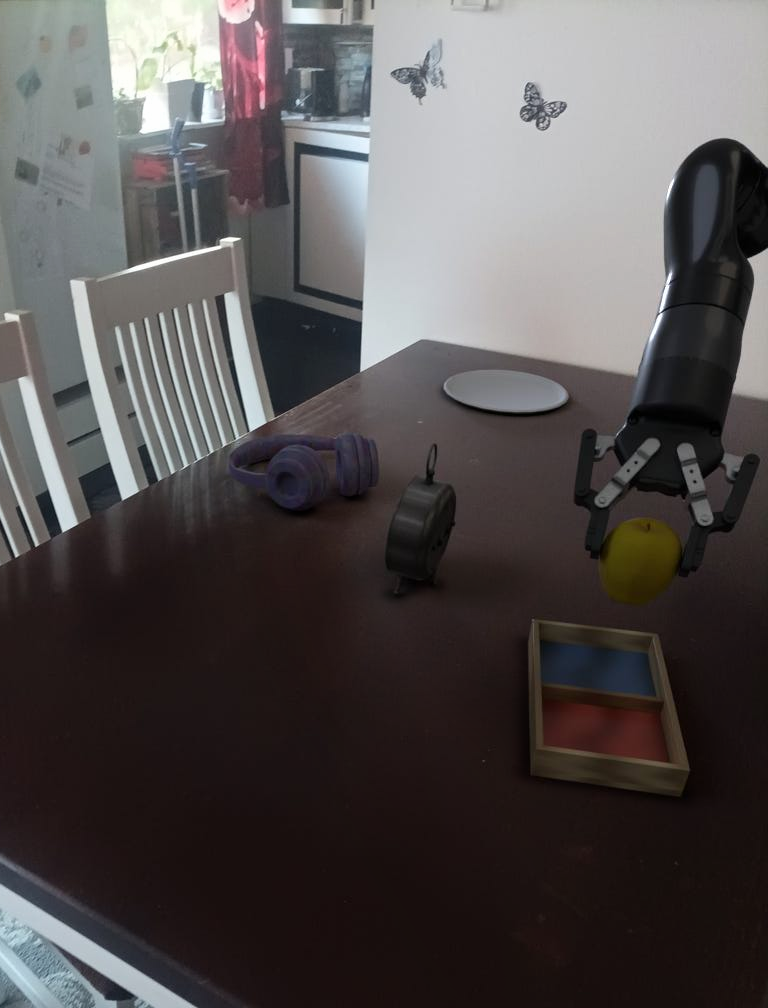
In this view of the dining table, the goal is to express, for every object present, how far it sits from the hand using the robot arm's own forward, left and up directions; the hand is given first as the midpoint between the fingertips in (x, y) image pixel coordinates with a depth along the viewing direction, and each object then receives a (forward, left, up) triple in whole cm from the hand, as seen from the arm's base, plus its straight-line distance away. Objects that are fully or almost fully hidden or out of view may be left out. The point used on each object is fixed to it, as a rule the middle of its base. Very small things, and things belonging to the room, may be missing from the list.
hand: (638, 564), depth 72 cm
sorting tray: (0, -1, -16) cm, 16 cm away
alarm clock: (+18, -21, -16) cm, 32 cm away
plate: (+9, -86, -16) cm, 88 cm away
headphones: (+36, -43, -16) cm, 58 cm away
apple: (0, -2, -5) cm, 5 cm away
